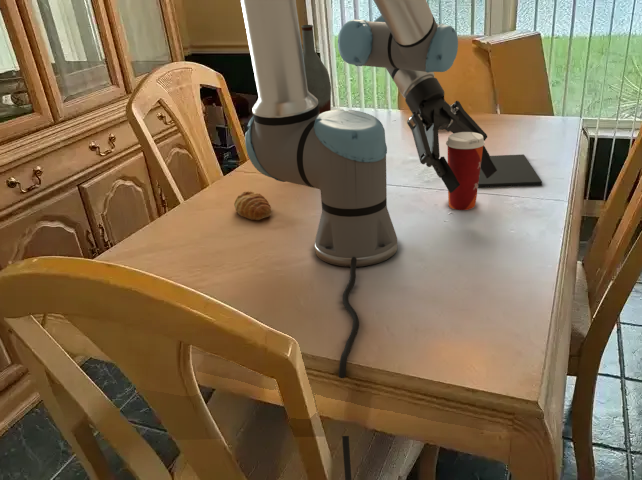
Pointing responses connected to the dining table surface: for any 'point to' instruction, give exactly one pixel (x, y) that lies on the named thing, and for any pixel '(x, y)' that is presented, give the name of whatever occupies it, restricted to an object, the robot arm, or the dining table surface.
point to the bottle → (315, 71)
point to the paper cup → (465, 167)
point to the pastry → (252, 206)
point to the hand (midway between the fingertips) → (474, 181)
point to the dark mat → (510, 172)
